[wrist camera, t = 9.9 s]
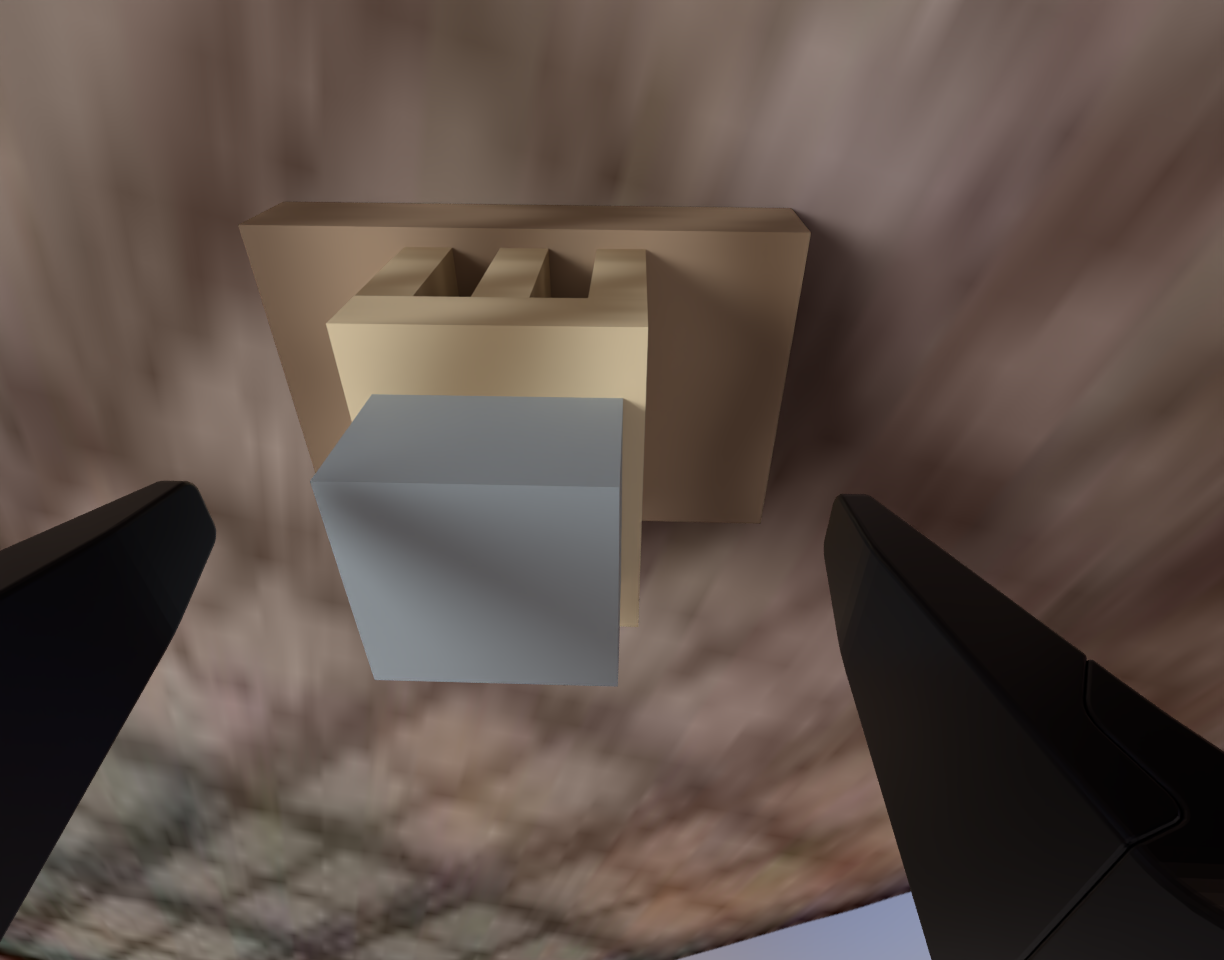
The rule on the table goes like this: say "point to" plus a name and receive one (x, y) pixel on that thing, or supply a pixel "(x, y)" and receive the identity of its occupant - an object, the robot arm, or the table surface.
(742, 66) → the table surface
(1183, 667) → the table surface
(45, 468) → the table surface
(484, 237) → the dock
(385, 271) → the block
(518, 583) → the block
